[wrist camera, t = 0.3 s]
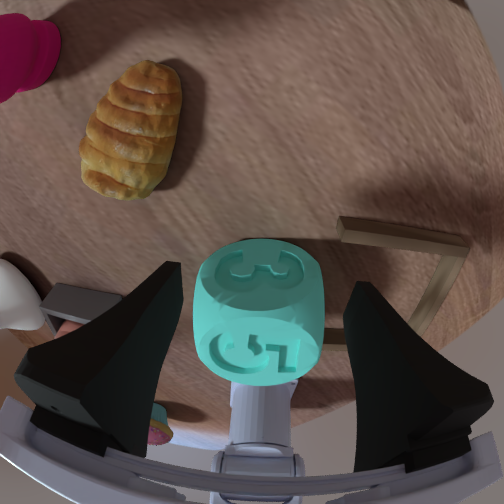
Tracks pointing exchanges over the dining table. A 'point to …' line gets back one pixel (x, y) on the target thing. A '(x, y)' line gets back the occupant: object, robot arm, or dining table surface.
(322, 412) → the dining table surface
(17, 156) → the dining table surface
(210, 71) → the dining table surface
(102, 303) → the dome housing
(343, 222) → the frame
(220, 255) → the decorative dice
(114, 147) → the pastry
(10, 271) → the flower in vase
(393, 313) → the robot arm
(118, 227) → the dining table surface
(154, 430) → the cupcake
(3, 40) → the pepper mill
